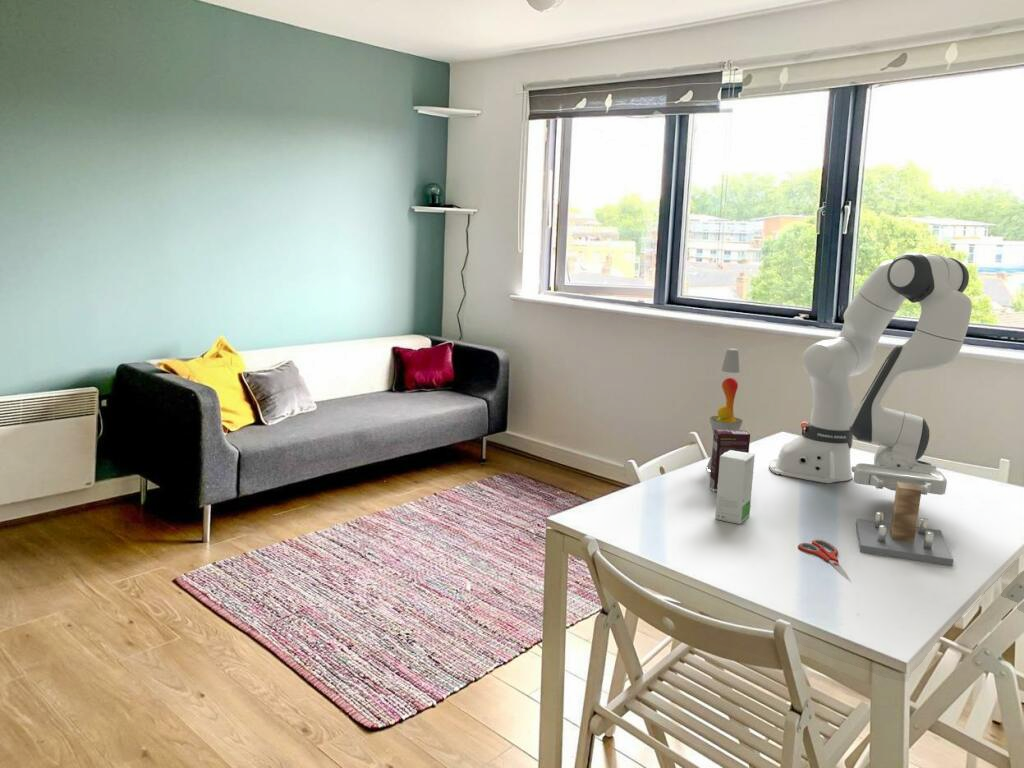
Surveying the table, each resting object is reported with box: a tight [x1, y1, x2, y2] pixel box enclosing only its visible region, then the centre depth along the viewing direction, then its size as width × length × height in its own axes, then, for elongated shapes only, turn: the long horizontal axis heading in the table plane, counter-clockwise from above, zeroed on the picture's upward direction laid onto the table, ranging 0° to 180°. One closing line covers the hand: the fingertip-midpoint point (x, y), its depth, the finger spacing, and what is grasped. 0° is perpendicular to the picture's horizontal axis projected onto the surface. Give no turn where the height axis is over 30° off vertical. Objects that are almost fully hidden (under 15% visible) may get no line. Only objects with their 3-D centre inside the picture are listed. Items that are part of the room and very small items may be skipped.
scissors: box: [797, 539, 852, 583], centre depth 172 cm, size 8×21×2 cm, turn 13°
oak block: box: [890, 482, 922, 543], centre depth 182 cm, size 4×4×12 cm
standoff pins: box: [874, 511, 934, 550], centre depth 183 cm, size 11×11×4 cm
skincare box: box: [714, 450, 756, 525], centre depth 195 cm, size 8×7×16 cm
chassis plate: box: [855, 518, 954, 567], centre depth 184 cm, size 18×18×2 cm
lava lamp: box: [706, 348, 743, 470], centre depth 230 cm, size 9×9×35 cm
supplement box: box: [709, 429, 751, 492], centre depth 216 cm, size 9×5×16 cm, turn 92°
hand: (901, 488), depth 191 cm, fingers open, 8 cm apart
